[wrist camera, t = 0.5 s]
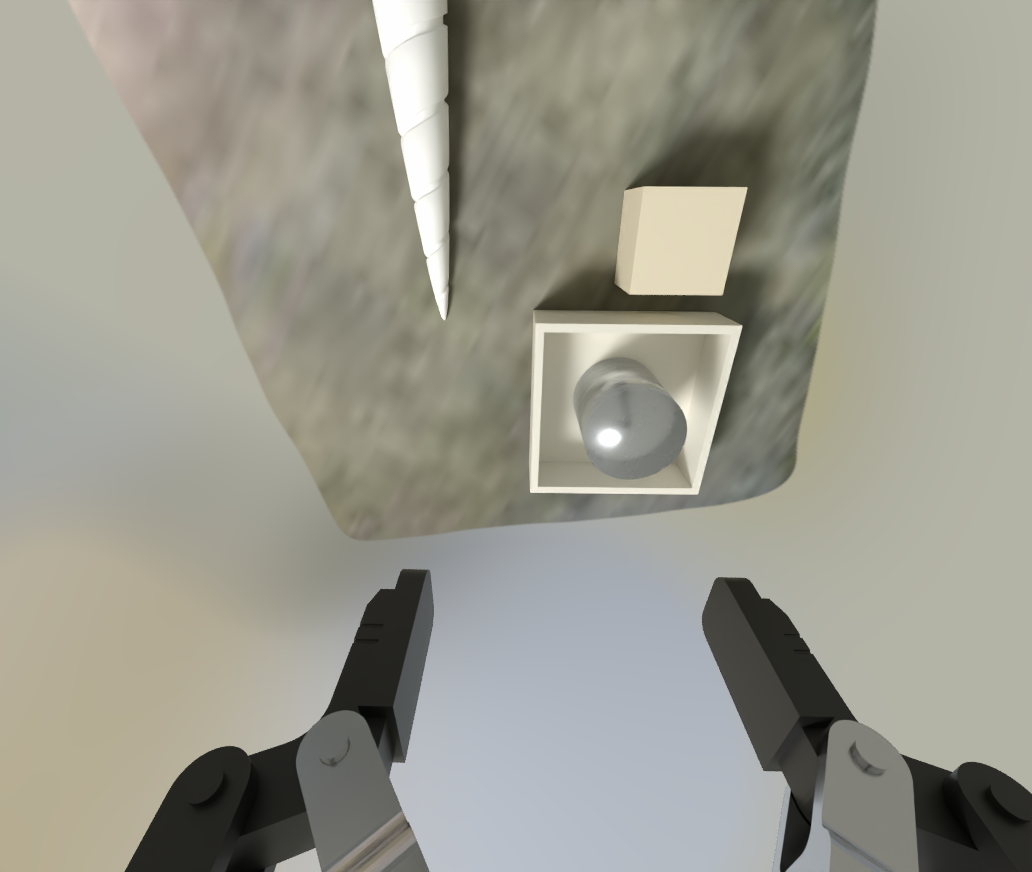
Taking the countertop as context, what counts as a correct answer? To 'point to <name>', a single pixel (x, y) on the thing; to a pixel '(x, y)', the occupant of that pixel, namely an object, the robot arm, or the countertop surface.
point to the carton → (677, 239)
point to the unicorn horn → (422, 118)
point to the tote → (670, 358)
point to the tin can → (627, 419)
